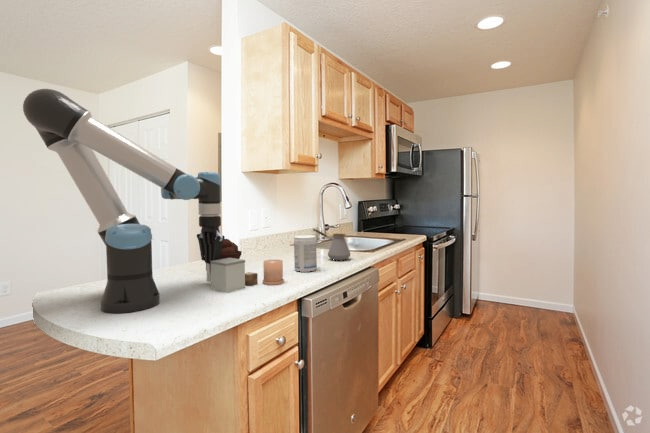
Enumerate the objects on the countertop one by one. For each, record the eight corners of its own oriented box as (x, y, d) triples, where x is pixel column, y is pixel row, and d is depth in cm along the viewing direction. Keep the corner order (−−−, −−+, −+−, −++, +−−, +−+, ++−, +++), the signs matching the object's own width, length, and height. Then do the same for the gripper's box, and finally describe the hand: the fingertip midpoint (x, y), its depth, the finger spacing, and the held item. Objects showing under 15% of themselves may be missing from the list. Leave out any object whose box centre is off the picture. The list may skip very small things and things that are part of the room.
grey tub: (226, 293, 118) (226, 263, 117) (210, 289, 123) (210, 261, 122) (245, 287, 125) (245, 260, 124) (230, 284, 129) (229, 257, 129)
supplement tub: (318, 268, 157) (318, 235, 156) (314, 273, 148) (313, 237, 147) (297, 267, 159) (297, 234, 158) (291, 272, 150) (291, 237, 149)
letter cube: (250, 286, 126) (250, 275, 126) (241, 285, 128) (241, 273, 128) (257, 284, 130) (257, 272, 130) (248, 282, 132) (248, 271, 131)
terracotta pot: (273, 286, 126) (273, 264, 126) (258, 283, 131) (257, 261, 130) (288, 282, 133) (288, 260, 132) (273, 279, 137) (272, 258, 137)
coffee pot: (354, 258, 181) (354, 229, 180) (344, 262, 171) (344, 231, 170) (317, 255, 191) (317, 227, 191) (306, 258, 181) (306, 229, 180)
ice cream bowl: (235, 279, 137) (234, 240, 136) (208, 277, 139) (207, 239, 139) (246, 273, 148) (246, 237, 147) (221, 272, 150) (221, 236, 149)
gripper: (230, 215, 127) (231, 281, 128) (207, 214, 135) (208, 276, 136) (212, 216, 121) (214, 285, 122) (189, 215, 128) (191, 280, 130)
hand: (211, 280), depth 129 cm, fingers closed
